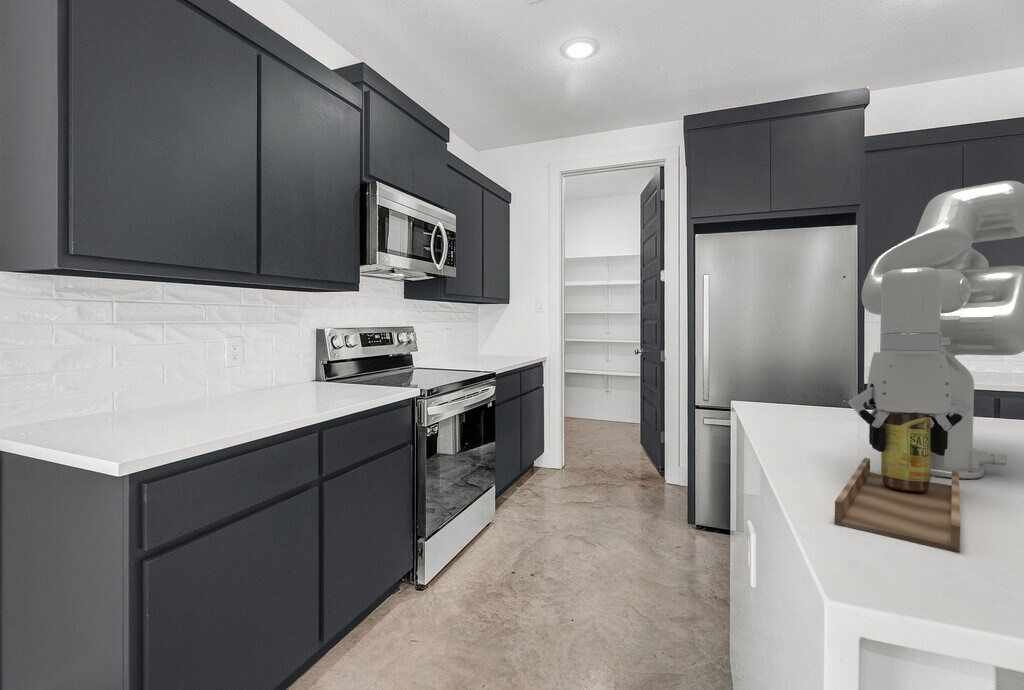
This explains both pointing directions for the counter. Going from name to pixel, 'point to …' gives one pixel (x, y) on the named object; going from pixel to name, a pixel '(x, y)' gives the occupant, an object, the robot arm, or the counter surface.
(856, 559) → the counter surface
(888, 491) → the tray
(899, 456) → the sauce bottle
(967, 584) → the counter surface
